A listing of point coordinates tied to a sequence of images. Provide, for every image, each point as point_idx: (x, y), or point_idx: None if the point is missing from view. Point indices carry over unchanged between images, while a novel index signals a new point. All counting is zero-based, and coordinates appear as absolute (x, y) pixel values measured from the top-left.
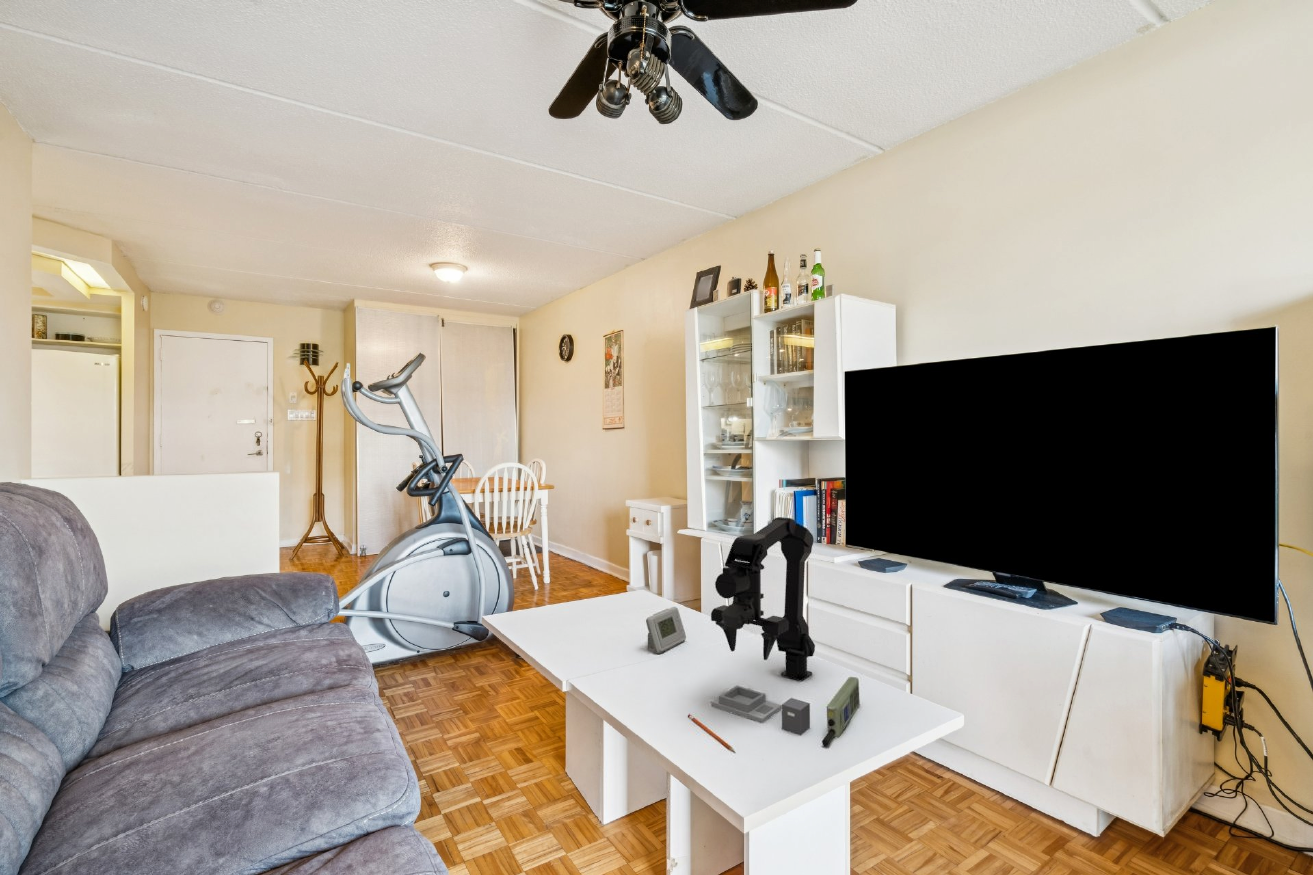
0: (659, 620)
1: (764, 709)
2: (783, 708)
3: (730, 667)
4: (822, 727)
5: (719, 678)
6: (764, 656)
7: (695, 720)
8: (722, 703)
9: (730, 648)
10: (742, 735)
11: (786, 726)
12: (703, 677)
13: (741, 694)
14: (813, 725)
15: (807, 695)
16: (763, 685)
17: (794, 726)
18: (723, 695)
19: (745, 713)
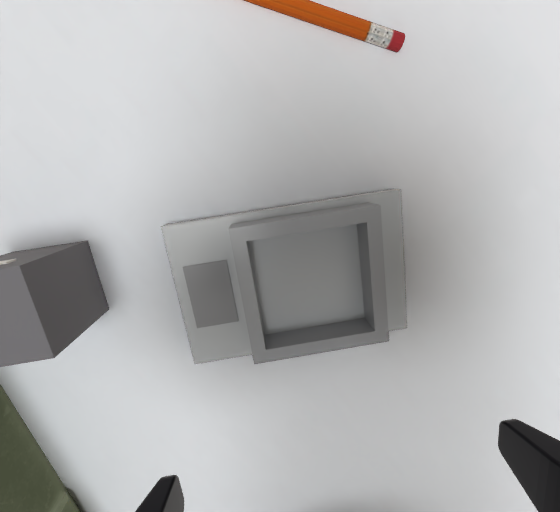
0: None
1: (208, 290)
2: (23, 262)
3: None
4: None
5: (506, 380)
6: (149, 504)
7: (348, 17)
8: (353, 205)
9: (537, 431)
10: (140, 81)
11: (58, 246)
12: (556, 347)
13: (350, 321)
14: None
15: (213, 485)
16: (360, 443)
17: (17, 254)
18: (368, 224)
19: (237, 214)
